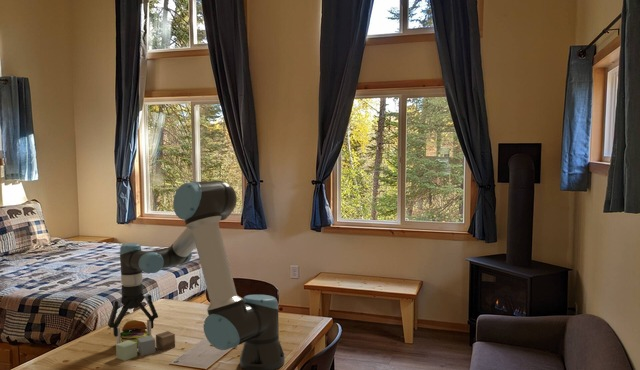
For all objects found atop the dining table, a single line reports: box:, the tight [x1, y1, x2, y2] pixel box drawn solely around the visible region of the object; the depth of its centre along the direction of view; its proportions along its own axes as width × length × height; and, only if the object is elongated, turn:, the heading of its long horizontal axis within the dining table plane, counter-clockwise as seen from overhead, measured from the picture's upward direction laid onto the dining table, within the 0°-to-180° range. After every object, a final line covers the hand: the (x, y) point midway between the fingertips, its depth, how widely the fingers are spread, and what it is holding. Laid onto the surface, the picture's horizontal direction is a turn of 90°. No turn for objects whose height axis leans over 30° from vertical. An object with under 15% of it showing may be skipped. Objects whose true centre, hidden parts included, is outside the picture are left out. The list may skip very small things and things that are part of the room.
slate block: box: [137, 334, 156, 356], centre depth 177 cm, size 5×5×5 cm
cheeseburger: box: [120, 319, 148, 347], centre depth 185 cm, size 10×11×10 cm
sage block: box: [115, 340, 138, 362], centre depth 172 cm, size 5×5×5 cm
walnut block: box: [155, 330, 176, 352], centre depth 181 cm, size 5×5×5 cm
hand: (134, 340), depth 186 cm, fingers closed on cheeseburger, 11 cm apart
